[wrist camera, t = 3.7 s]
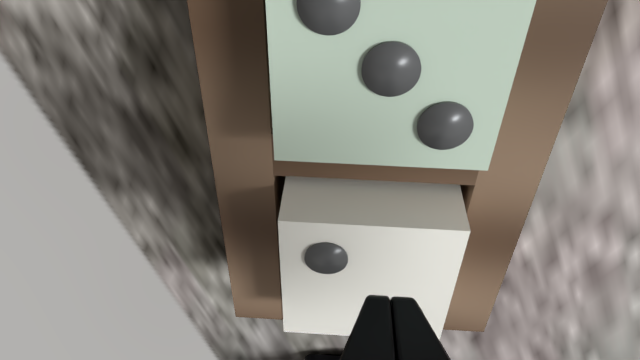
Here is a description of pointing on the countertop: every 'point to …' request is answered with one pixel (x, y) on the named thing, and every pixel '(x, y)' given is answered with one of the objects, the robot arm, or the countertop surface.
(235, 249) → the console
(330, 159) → the three dot button
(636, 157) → the countertop surface
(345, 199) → the two dot button
